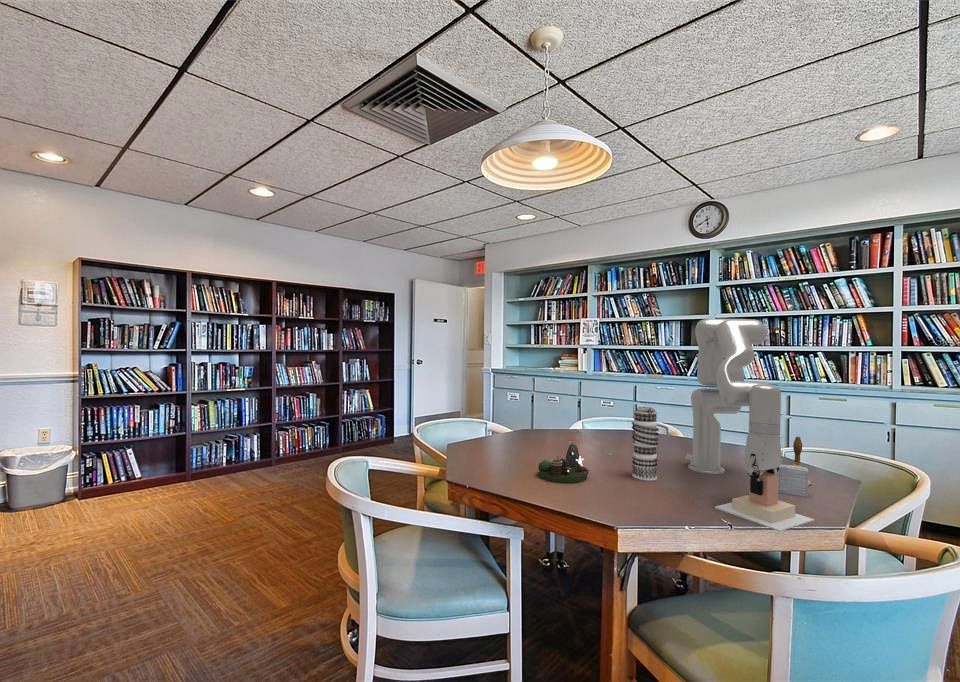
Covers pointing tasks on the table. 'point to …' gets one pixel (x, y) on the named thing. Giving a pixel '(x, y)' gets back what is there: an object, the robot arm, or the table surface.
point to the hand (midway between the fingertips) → (763, 491)
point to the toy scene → (564, 468)
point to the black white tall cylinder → (645, 444)
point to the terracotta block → (766, 490)
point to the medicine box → (793, 480)
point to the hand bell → (798, 453)
